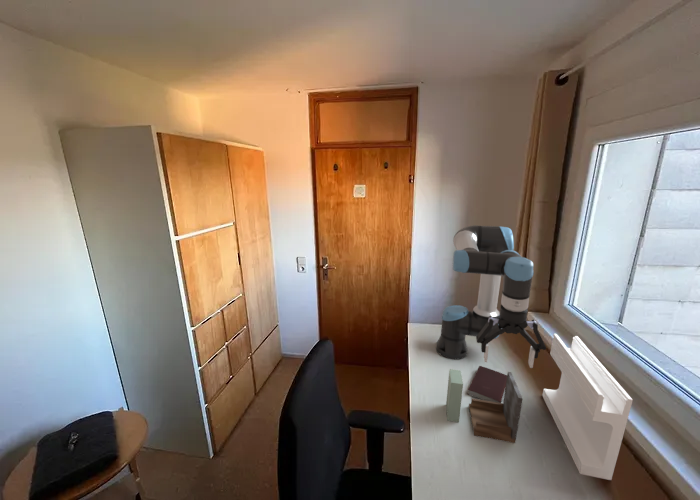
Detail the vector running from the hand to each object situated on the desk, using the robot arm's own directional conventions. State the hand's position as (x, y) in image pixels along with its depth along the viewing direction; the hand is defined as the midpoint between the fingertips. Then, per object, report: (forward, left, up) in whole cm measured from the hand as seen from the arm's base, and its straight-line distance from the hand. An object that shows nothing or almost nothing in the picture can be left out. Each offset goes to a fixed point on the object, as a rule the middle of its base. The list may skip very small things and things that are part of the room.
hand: (507, 362), depth 105 cm
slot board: (-2, -2, -27) cm, 27 cm away
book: (-23, +1, -27) cm, 36 cm away
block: (-5, +25, -27) cm, 37 cm away
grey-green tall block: (-4, -15, -27) cm, 31 cm away
